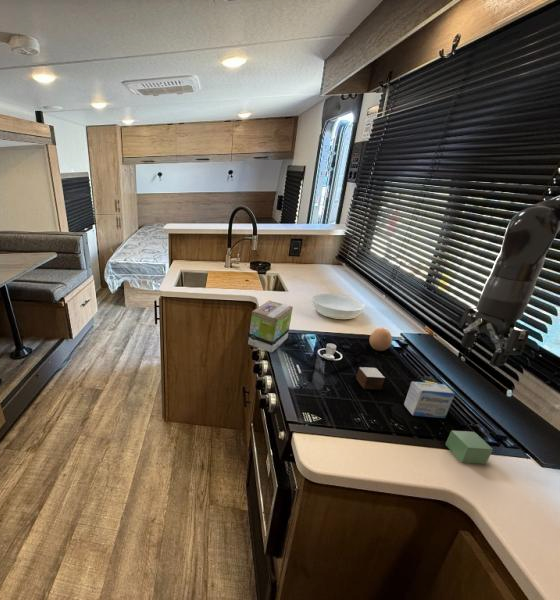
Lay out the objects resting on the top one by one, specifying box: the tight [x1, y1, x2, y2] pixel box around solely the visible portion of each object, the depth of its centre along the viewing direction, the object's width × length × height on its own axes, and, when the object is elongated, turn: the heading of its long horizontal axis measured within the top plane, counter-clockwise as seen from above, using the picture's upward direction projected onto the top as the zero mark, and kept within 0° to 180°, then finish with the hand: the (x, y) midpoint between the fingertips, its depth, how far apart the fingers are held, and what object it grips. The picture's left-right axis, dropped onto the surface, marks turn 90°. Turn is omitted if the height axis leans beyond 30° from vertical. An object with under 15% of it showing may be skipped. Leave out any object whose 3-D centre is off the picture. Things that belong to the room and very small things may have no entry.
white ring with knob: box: [317, 342, 343, 361], centre depth 110 cm, size 9×8×4 cm
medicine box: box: [403, 381, 456, 419], centre depth 83 cm, size 8×4×9 cm, turn 80°
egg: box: [368, 327, 393, 352], centre depth 112 cm, size 7×7×9 cm
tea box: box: [247, 300, 294, 354], centre depth 118 cm, size 15×10×15 cm
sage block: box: [444, 430, 494, 465], centre depth 70 cm, size 5×5×5 cm
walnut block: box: [355, 366, 386, 391], centre depth 94 cm, size 5×5×5 cm
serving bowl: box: [311, 293, 365, 320], centre depth 142 cm, size 21×21×7 cm
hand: (479, 355), depth 76 cm, fingers open, 8 cm apart
